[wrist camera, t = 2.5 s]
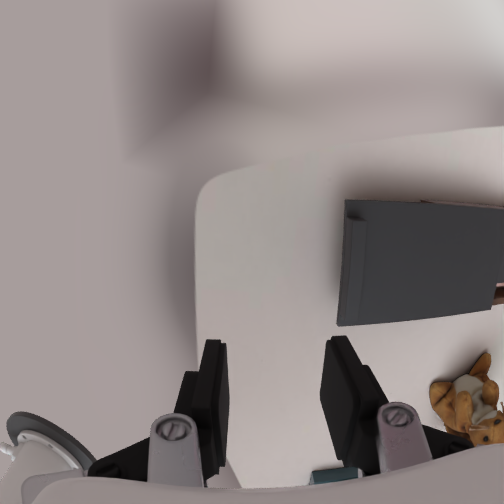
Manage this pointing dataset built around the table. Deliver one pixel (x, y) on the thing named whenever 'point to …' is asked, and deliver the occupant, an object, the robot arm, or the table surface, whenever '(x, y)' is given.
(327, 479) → the dark teal square block
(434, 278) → the lid
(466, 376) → the stuffed squirrel
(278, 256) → the table surface
